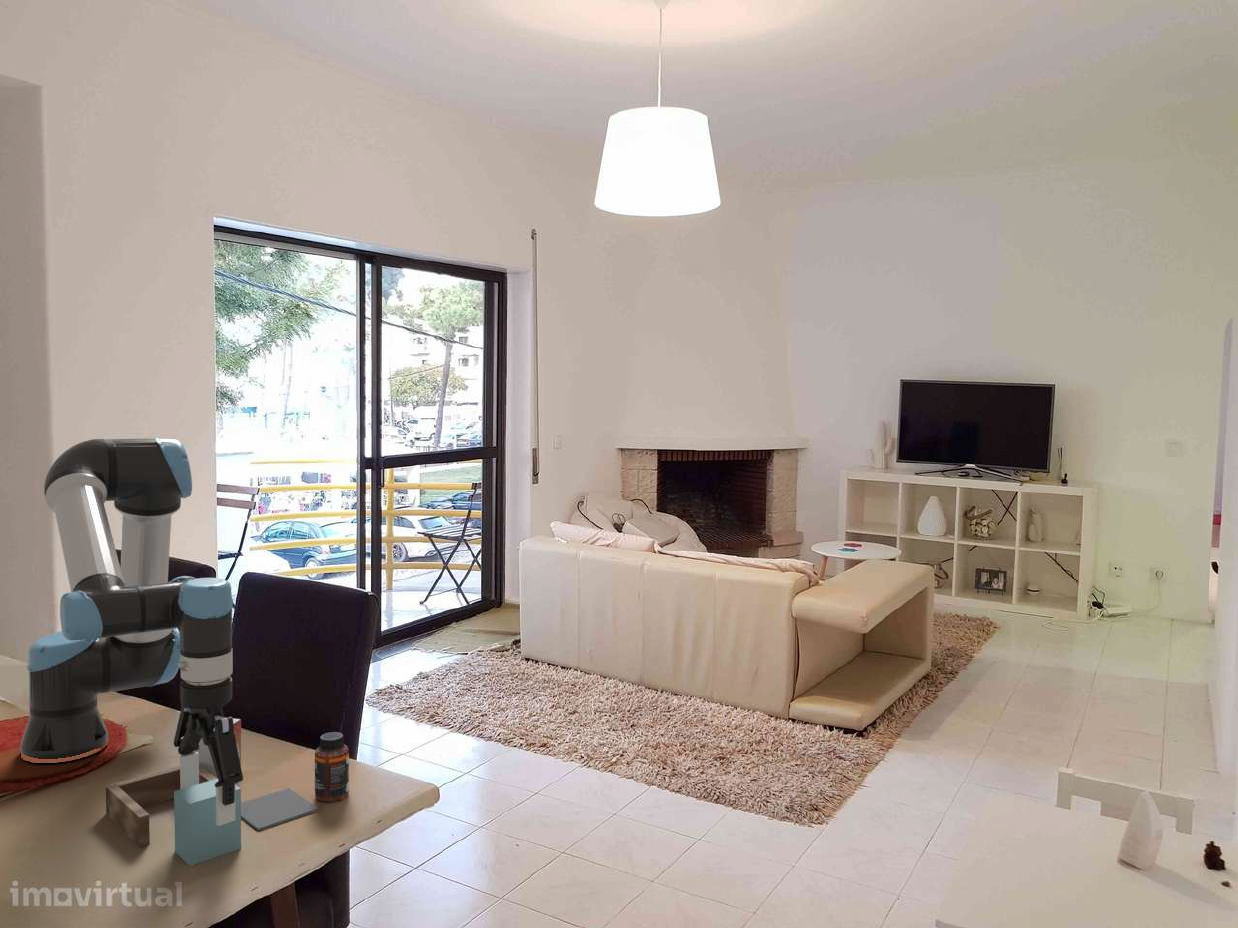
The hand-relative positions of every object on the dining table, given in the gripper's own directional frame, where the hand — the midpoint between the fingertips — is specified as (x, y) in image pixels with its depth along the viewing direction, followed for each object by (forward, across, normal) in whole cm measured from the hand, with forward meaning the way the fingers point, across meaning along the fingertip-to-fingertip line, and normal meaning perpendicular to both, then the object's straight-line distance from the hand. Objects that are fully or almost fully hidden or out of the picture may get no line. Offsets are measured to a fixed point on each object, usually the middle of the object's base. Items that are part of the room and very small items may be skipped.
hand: (207, 807), depth 149 cm
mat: (+7, -6, +14) cm, 17 cm away
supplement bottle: (+7, -4, +24) cm, 25 cm away
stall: (+7, -15, 0) cm, 17 cm away
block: (+7, 0, 0) cm, 7 cm away
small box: (+8, -25, +12) cm, 28 cm away
